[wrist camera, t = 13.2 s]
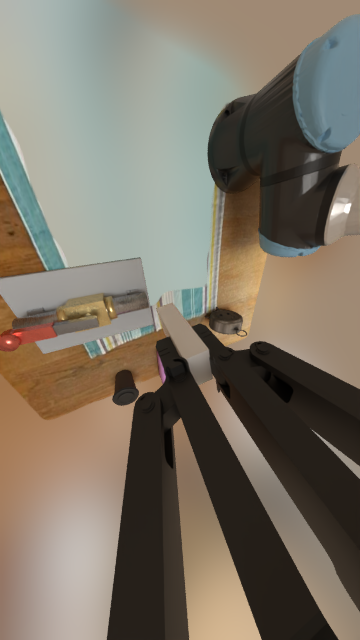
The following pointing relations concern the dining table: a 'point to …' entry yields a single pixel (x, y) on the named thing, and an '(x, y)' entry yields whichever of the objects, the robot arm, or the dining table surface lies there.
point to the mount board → (75, 283)
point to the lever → (45, 331)
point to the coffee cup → (124, 388)
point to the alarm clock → (226, 322)
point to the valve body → (86, 309)
